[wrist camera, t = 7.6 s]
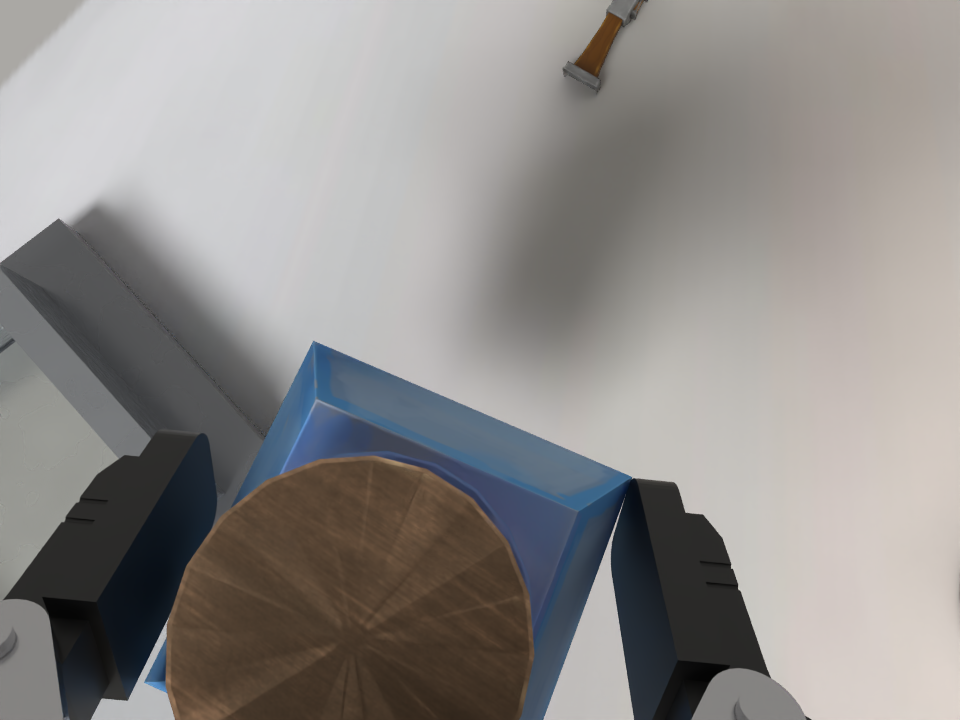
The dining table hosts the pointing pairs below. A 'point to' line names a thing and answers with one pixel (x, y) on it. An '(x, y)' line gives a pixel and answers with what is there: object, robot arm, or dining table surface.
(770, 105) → the dining table surface
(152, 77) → the dining table surface
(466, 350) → the dining table surface
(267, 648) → the perfume bottle
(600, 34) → the wooden post with brackets
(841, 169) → the dining table surface
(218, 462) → the grey square frame
